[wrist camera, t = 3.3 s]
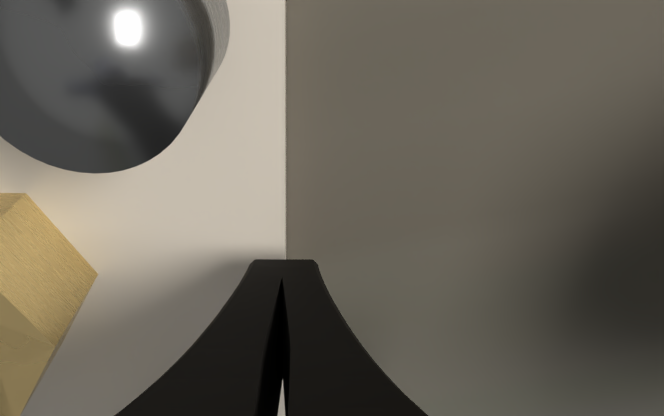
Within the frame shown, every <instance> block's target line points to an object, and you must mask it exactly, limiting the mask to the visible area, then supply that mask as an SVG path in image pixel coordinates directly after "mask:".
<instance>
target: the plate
mask: <svg viewBox="0 0 664 416" xmlns="http://www.w3.org/2000/svg"><path fill="white" fill-rule="evenodd" d="M226 2H227V7H228V11H229V19H230V36H229V43H228V47H227V51H226V54H225V57H224V59H223V61H222V63H221V65H220V67H219V69H218V70H217V72H216V74H215V75H214V77H213V79H212V80H211V82H210V84H209V85H208V87H207V89H206V90H205V92H204V94H203V96H202V97H201V99H200V101H199V102H198V104H197V106H196V107H195V109H194V111H193V112H192V114H191V116H190V117H189V119H188V121H187V122H186V124H185V125H184V127H183V129H182V130H181V132H180V133H179V135H178V136H177V137H176V138H175V140H174V141H173V142H172V143H171V144H170V145H169V146H168V147H167V148H166V149H165V150H163V151H162V152H161V153H160V154H158V155H157V156H155V157H154V158H152V159H151V160H149V161H147V162H145V163H143V164H141V165H138V166H136V167H133V168H130V169H126V170H123V171H117V172H112V173H96V174H93V173H80V172H74V171H69V170H64V169H61V168H57V167H54V166H51V165H48V164H46V163H43V162H41V161H38V160H36V159H34V158H32V157H30V156H28V155H27V154H25V153H23V152H21V151H20V150H18V149H17V148H15V147H14V146H12V145H11V144H9V143H8V142H7V141H5V140H4V139H3V138H2V137H1V136H0V193H26V194H27V195H28V196H29V197H30V198H31V199H32V200H33V201H34V203H35V204H36V205H37V206H38V207H39V208H40V209H41V210H42V212H43V213H44V214H45V215H46V216H47V217H48V218H49V219H50V221H51V222H52V223H53V224H54V225H55V226H56V227H57V228H58V230H59V231H60V232H61V233H62V234H63V235H64V236H65V237H66V239H67V240H68V241H69V242H70V243H71V244H72V245H73V246H74V247H75V249H76V250H77V251H78V252H79V253H80V254H81V255H82V256H83V258H84V259H85V260H86V261H87V262H88V263H89V264H90V265H91V267H92V268H93V269H94V270H95V271H96V272H97V273H98V276H97V278H96V279H95V281H94V283H93V285H92V287H91V289H90V291H89V293H88V295H87V297H86V299H85V301H84V302H83V304H82V306H81V308H80V310H79V312H78V314H77V316H76V318H75V320H74V322H73V324H72V325H71V327H70V329H69V331H68V333H67V335H66V337H65V339H64V341H63V343H62V345H61V346H60V348H59V350H58V351H57V353H56V355H55V357H54V358H53V360H52V362H51V364H50V365H49V367H48V369H47V370H46V372H45V374H44V376H43V377H42V379H41V381H40V383H39V384H38V386H37V388H36V390H35V391H34V393H33V395H32V396H31V398H30V400H29V402H28V403H27V405H26V407H25V409H24V410H23V412H22V414H21V415H20V416H114V415H115V414H117V413H118V412H120V411H121V410H122V409H123V408H125V407H126V406H127V405H128V404H130V403H131V402H132V401H133V400H135V399H136V398H137V397H138V396H139V395H140V394H142V393H143V392H144V391H145V390H146V389H147V388H148V387H150V386H151V385H152V384H153V383H154V382H155V381H156V380H158V379H159V378H160V377H161V376H162V375H163V374H164V373H165V372H166V371H167V370H168V369H169V368H170V367H171V366H172V365H173V364H174V363H175V362H176V361H177V360H178V359H179V358H180V357H181V356H182V355H183V354H184V353H185V352H186V351H187V350H188V349H189V348H190V347H191V346H192V345H193V343H194V342H195V341H196V340H197V339H198V338H199V336H200V335H201V334H202V333H203V332H204V330H205V329H206V328H207V327H208V326H209V324H210V323H211V322H212V321H213V320H214V318H215V317H216V316H217V314H218V313H219V312H220V310H221V309H222V307H223V306H224V305H225V303H226V302H227V301H228V299H229V298H230V296H231V295H232V294H233V292H234V290H235V289H236V287H237V286H238V284H239V283H240V281H241V279H242V278H243V276H244V274H245V273H246V271H247V269H248V267H249V265H250V263H252V262H253V261H254V260H255V259H285V260H286V0H226ZM277 416H285V403H284V389H283V380H282V387H281V394H280V401H279V408H278V415H277Z"/></svg>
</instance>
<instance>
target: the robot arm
mask: <svg viewBox="0 0 664 416" xmlns="http://www.w3.org/2000/svg"><path fill="white" fill-rule="evenodd" d="M282 380H283V389H284V403H285V416H428V415H427V414H426V413H425V412H424V411H422V410H421V409H420V408H419V407H418V406H417V405H416V404H415V403H414V402H413V401H411V400H410V399H409V398H408V397H407V396H406V395H405V394H404V393H403V392H402V391H401V390H400V389H399V388H398V387H397V386H396V385H395V384H394V383H393V382H392V381H391V379H390V378H389V377H388V376H387V375H386V374H385V373H384V372H383V371H382V369H381V368H380V367H379V366H378V365H377V364H376V363H375V361H374V360H373V359H372V358H371V356H370V355H369V354H368V353H367V351H366V350H365V349H364V347H363V346H362V345H361V343H360V342H359V340H358V339H357V338H356V336H355V335H354V333H353V332H352V331H351V329H350V328H349V326H348V325H347V323H346V322H345V320H344V318H343V317H342V315H341V313H340V312H339V310H338V308H337V307H336V305H335V303H334V301H333V299H332V298H331V296H330V294H329V292H328V290H327V288H326V286H325V284H324V281H323V279H322V277H321V274H320V271H319V268H318V264H317V263H316V262H315V261H314V260H285V259H255V260H254V261H253V262H252V263H250V265H249V267H248V269H247V271H246V273H245V274H244V276H243V278H242V279H241V281H240V283H239V284H238V286H237V287H236V289H235V290H234V292H233V294H232V295H231V296H230V298H229V299H228V301H227V302H226V303H225V305H224V306H223V307H222V309H221V310H220V312H219V313H218V314H217V316H216V317H215V318H214V320H213V321H212V322H211V323H210V324H209V326H208V327H207V328H206V329H205V330H204V332H203V333H202V334H201V335H200V336H199V338H198V339H197V340H196V341H195V342H194V343H193V345H192V346H191V347H190V348H189V349H188V350H187V351H186V352H185V353H184V354H183V355H182V356H181V357H180V358H179V359H178V360H177V361H176V362H175V363H174V364H173V365H172V366H171V367H170V368H169V369H168V370H167V371H166V372H165V373H164V374H163V375H162V376H161V377H160V378H159V379H158V380H156V381H155V382H154V383H153V384H152V385H151V386H150V387H148V388H147V389H146V390H145V391H144V392H143V393H142V394H140V395H139V396H138V397H137V398H136V399H135V400H133V401H132V402H131V403H130V404H128V405H127V406H126V407H125V408H123V409H122V410H121V411H120V412H118V413H117V414H115V415H114V416H277V415H278V408H279V401H280V394H281V387H282Z"/></svg>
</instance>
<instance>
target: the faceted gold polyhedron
mask: <svg viewBox="0 0 664 416" xmlns="http://www.w3.org/2000/svg"><path fill="white" fill-rule="evenodd" d="M97 276H98V273H97V272H96V271H95V270H94V269H93V268H92V267H91V265H90V264H89V263H88V262H87V261H86V260H85V259H84V258H83V256H82V255H81V254H80V253H79V252H78V251H77V250H76V249H75V247H74V246H73V245H72V244H71V243H70V242H69V241H68V240H67V239H66V237H65V236H64V235H63V234H62V233H61V232H60V231H59V230H58V228H57V227H56V226H55V225H54V224H53V223H52V222H51V221H50V219H49V218H48V217H47V216H46V215H45V214H44V213H43V212H42V210H41V209H40V208H39V207H38V206H37V205H36V204H35V203H34V201H33V200H32V199H31V198H30V197H29V196H28V195H27V194H26V193H0V416H20V415H21V414H22V412H23V410H24V409H25V407H26V405H27V403H28V402H29V400H30V398H31V396H32V395H33V393H34V391H35V390H36V388H37V386H38V384H39V383H40V381H41V379H42V377H43V376H44V374H45V372H46V370H47V369H48V367H49V365H50V364H51V362H52V360H53V358H54V357H55V355H56V353H57V351H58V350H59V348H60V346H61V345H62V343H63V341H64V339H65V337H66V335H67V333H68V331H69V329H70V327H71V325H72V324H73V322H74V320H75V318H76V316H77V314H78V312H79V310H80V308H81V306H82V304H83V302H84V301H85V299H86V297H87V295H88V293H89V291H90V289H91V287H92V285H93V283H94V281H95V279H96V278H97Z"/></svg>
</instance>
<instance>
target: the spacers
mask: <svg viewBox="0 0 664 416" xmlns="http://www.w3.org/2000/svg"><path fill="white" fill-rule="evenodd" d="M229 36H230V19H229V11H228V7H227V2H226V0H0V136H1V137H2V138H3V139H4V140H5V141H7V142H8V143H9V144H11V145H12V146H14V147H15V148H17V149H18V150H20V151H21V152H23V153H25V154H27V155H28V156H30V157H32V158H34V159H36V160H38V161H41V162H43V163H46V164H48V165H51V166H54V167H57V168H61V169H64V170H69V171H74V172H80V173H93V174H96V173H112V172H117V171H123V170H126V169H130V168H133V167H136V166H138V165H141V164H143V163H145V162H147V161H149V160H151V159H152V158H154V157H155V156H157V155H158V154H160V153H161V152H162V151H163V150H165V149H166V148H167V147H168V146H169V145H170V144H171V143H172V142H173V141H174V140H175V138H176V137H177V136H178V135H179V133H180V132H181V130H182V129H183V127H184V125H185V124H186V122H187V121H188V119H189V117H190V116H191V114H192V112H193V111H194V109H195V107H196V106H197V104H198V102H199V101H200V99H201V97H202V96H203V94H204V92H205V90H206V89H207V87H208V85H209V84H210V82H211V80H212V79H213V77H214V75H215V74H216V72H217V70H218V69H219V67H220V65H221V63H222V61H223V59H224V57H225V54H226V51H227V47H228V43H229Z"/></svg>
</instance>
